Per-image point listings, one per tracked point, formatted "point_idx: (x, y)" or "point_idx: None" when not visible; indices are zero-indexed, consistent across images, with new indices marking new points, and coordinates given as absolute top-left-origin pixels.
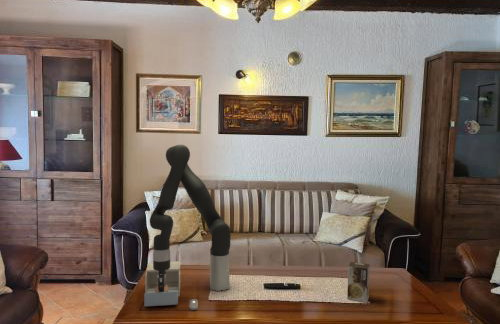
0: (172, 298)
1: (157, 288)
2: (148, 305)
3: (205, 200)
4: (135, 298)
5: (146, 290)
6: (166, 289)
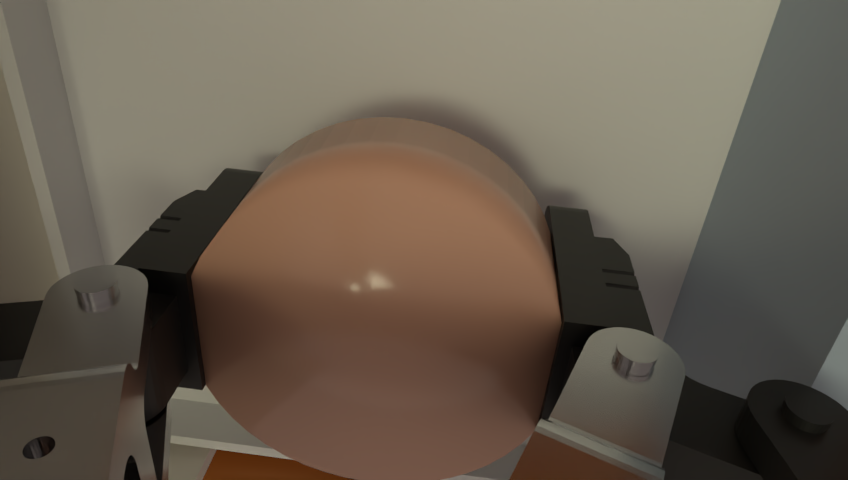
0: None
1: (453, 452)
2: None
3: None
4: (253, 476)
5: (180, 454)
6: (513, 225)
